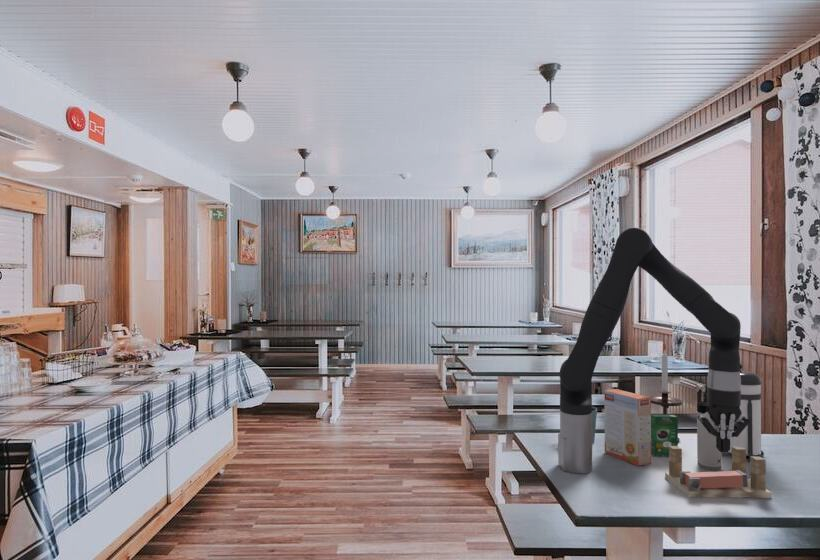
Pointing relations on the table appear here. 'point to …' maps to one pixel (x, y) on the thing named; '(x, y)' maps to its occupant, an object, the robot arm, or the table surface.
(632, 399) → the cracker box
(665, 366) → the candlestick
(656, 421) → the coffee box
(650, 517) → the table surface
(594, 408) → the drinking glass
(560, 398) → the robot arm
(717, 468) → the travel mug
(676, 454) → the stool seat
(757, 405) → the coffee press
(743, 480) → the folding leg
